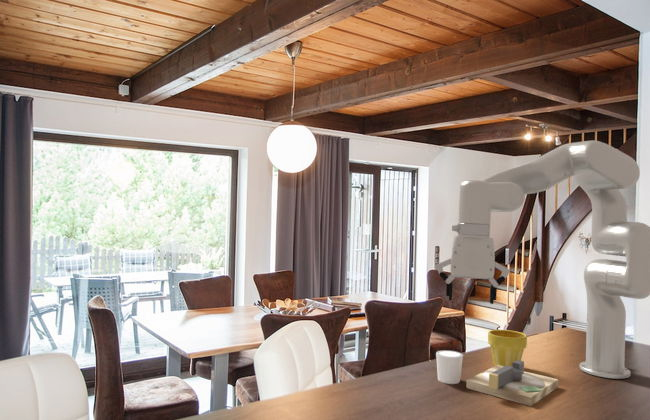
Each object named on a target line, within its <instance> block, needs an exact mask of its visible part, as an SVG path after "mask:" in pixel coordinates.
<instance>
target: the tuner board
mask: <svg viewBox="0 0 650 420" xmlns="http://www.w3.org/2000/svg"><path fill="white" fill-rule="evenodd" d="M502 367H504V366H500V365H496V366H492V367H490V368H488V369H486V370H484V371H482V372H480V373H477V374H475V375H474V376H471V377H470V378H467V379H466V389H469V390H472V391H476V392H478V393H482V394H486V395H489V396H492V397H496V398H501V399H503V400H508V401H512V402H515V403H518V404H521V405H525V406H529V407H532V406H534V405H535V404H536V403H538V402H539V401H541V400H542V399H543V398H545V397H546V396H548V395H549V394H550V393H551V392H553V391H554V390H556V389H558V388H559V379H558V378H555V377H554V378H553V377H549V376H546V375H542V374H537V373H533V372H529V371H525V370H524V374H523V375H522V380H520V381H513V380H512V381H510V382H509V383H507V384H505V385H503V386H501V387H500V388H498V389H492V388H489V374H490V373H492V372H494V371H496V370H498V369H500V368H502Z"/></svg>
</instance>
